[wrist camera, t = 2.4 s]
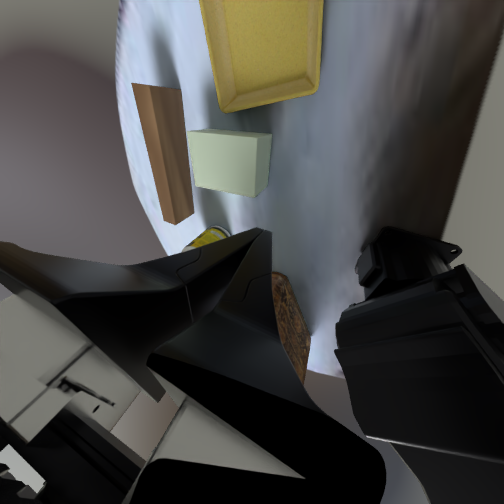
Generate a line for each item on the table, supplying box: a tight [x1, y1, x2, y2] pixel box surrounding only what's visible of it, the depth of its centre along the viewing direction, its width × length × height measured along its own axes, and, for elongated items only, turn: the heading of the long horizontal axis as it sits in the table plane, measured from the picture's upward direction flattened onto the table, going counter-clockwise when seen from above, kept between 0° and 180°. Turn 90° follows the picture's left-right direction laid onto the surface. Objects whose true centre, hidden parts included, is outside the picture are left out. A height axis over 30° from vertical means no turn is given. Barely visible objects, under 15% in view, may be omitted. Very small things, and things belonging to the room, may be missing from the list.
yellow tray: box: [199, 0, 324, 114], centre depth 13 cm, size 9×9×2 cm
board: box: [131, 83, 194, 225], centre depth 22 cm, size 2×14×4 cm, turn 173°
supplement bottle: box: [181, 226, 230, 253], centre depth 25 cm, size 5×5×8 cm
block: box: [187, 129, 272, 198], centre depth 19 cm, size 7×5×4 cm
